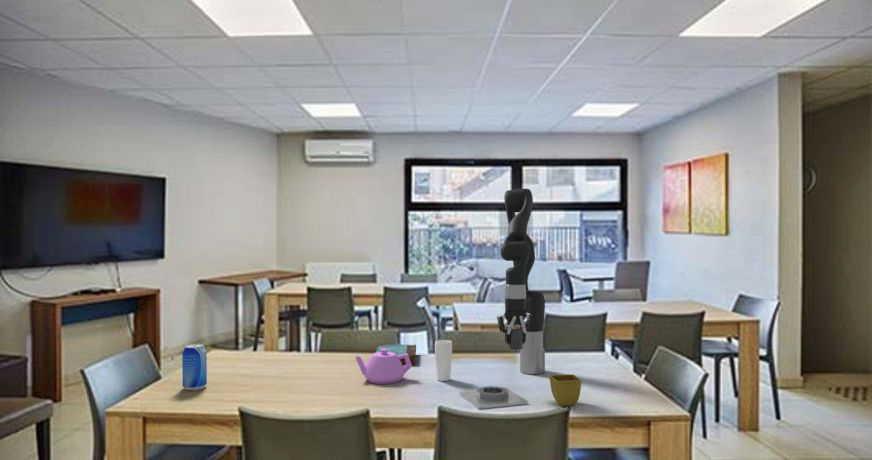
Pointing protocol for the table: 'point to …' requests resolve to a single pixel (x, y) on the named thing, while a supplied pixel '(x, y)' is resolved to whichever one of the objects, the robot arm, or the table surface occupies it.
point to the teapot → (384, 367)
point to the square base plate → (492, 397)
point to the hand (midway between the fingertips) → (515, 343)
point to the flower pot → (565, 389)
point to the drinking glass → (443, 359)
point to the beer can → (194, 367)
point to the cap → (516, 339)
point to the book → (401, 351)
